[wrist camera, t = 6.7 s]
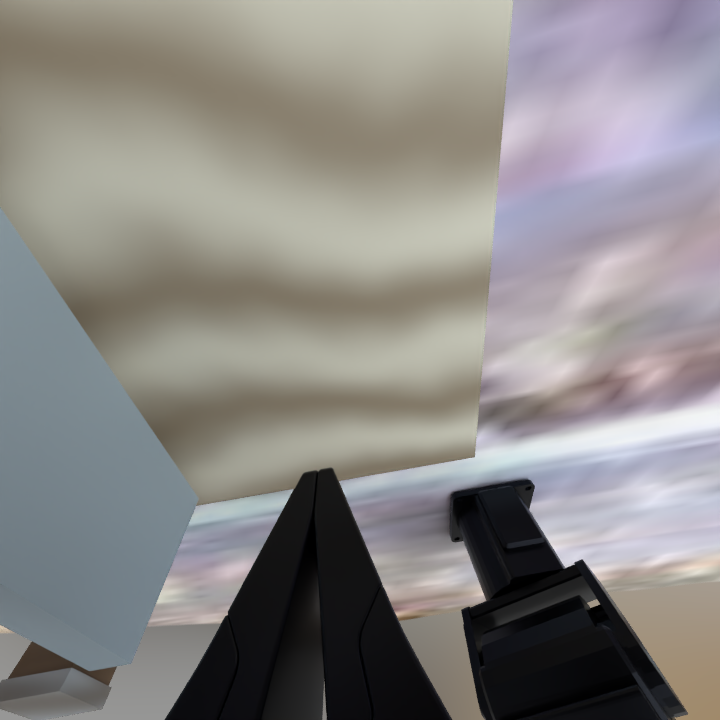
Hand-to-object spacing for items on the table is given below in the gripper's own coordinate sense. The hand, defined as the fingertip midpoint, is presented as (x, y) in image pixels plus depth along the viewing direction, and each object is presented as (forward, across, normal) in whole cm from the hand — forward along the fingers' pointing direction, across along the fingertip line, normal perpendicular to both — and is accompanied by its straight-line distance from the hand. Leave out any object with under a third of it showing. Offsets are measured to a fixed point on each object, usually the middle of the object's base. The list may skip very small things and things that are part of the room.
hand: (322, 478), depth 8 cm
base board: (+9, +4, -3) cm, 10 cm away
